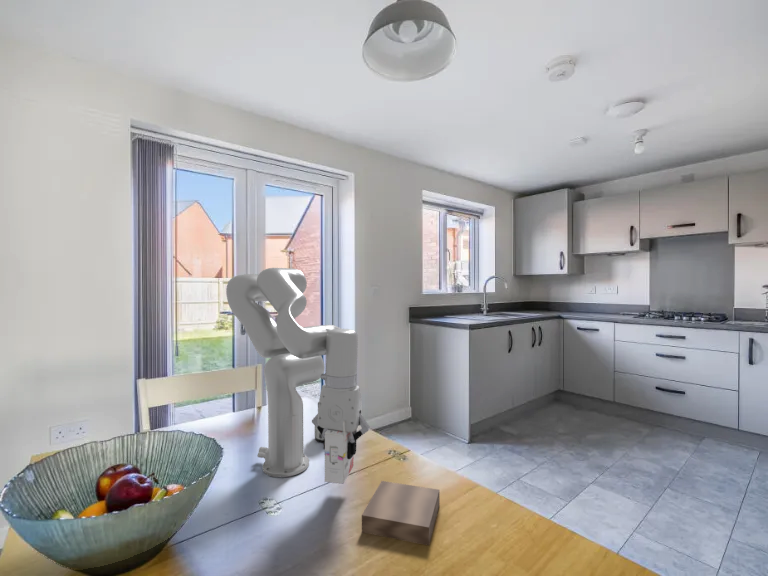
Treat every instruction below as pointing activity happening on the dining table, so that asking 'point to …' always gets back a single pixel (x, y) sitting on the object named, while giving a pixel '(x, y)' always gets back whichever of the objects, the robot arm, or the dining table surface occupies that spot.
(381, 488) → the walnut block
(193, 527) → the dining table surface
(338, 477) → the ink cartridge box
